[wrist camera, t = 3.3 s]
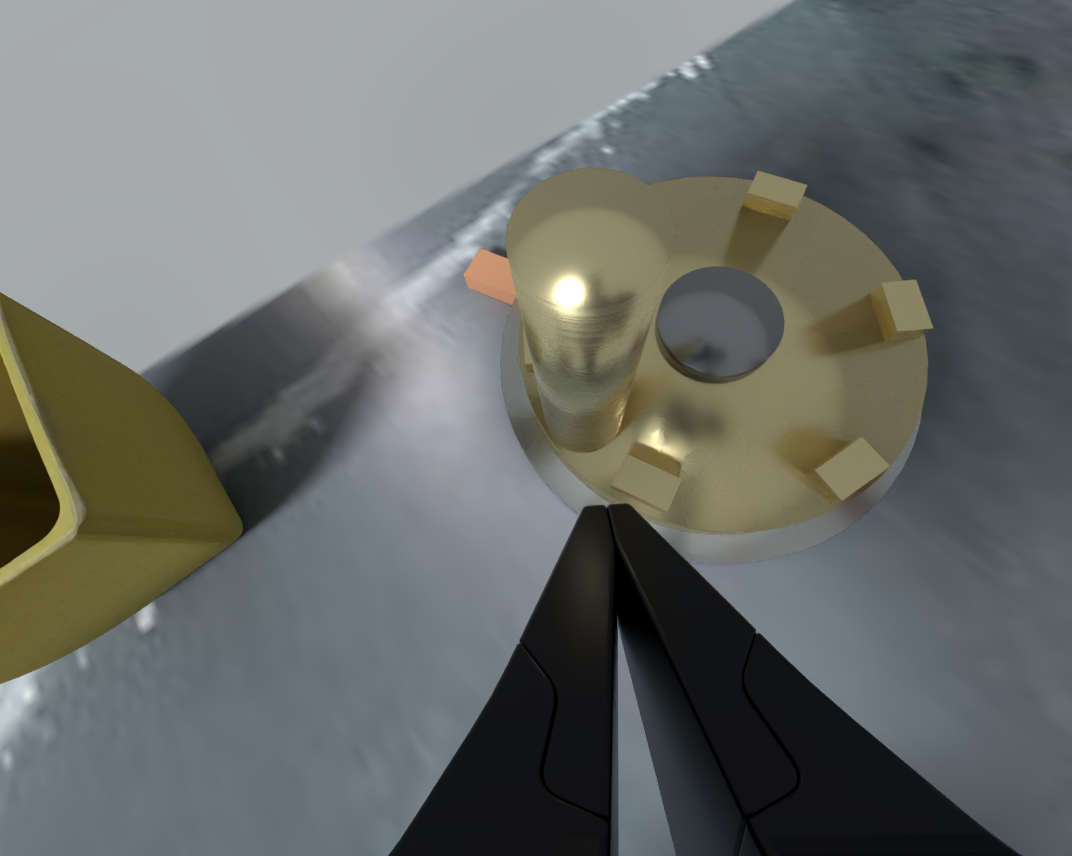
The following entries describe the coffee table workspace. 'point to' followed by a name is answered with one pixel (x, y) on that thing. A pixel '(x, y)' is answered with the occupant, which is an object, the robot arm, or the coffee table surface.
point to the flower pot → (91, 493)
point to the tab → (491, 276)
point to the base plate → (675, 537)
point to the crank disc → (703, 407)
